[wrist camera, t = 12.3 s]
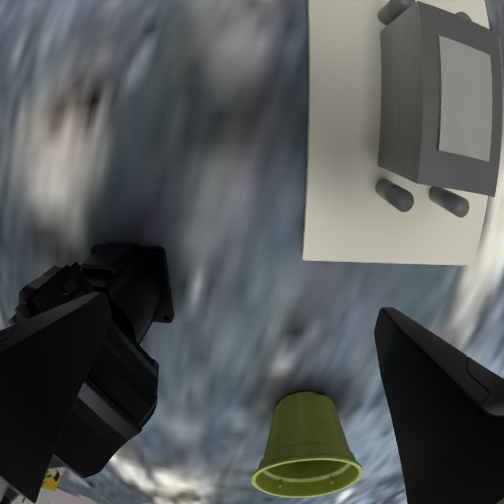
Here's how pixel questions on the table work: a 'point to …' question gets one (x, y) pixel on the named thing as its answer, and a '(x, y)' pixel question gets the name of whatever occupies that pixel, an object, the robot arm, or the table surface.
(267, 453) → the plant pot
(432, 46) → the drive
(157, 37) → the table surface
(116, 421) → the robot arm
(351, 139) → the peg board
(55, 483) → the packaging box
